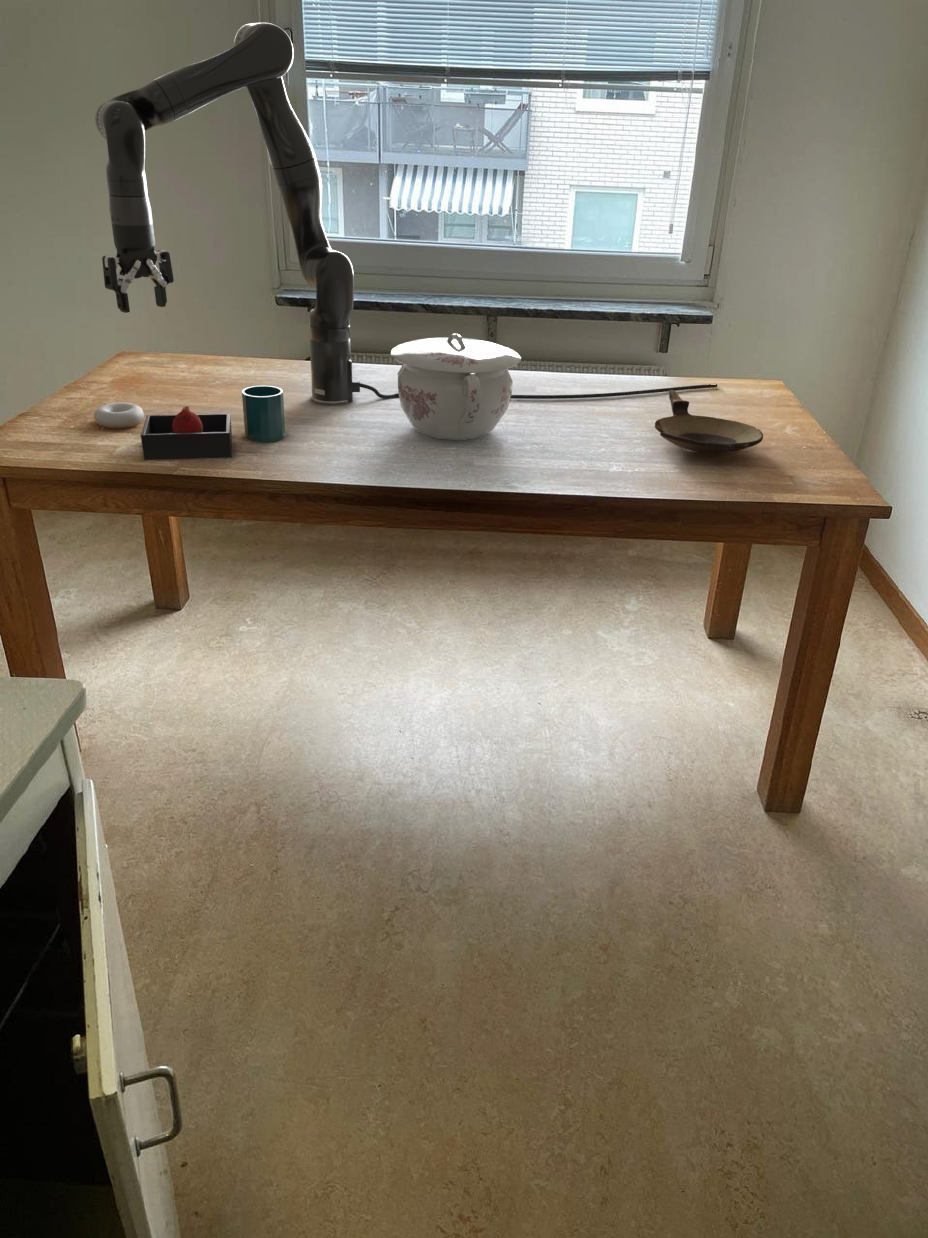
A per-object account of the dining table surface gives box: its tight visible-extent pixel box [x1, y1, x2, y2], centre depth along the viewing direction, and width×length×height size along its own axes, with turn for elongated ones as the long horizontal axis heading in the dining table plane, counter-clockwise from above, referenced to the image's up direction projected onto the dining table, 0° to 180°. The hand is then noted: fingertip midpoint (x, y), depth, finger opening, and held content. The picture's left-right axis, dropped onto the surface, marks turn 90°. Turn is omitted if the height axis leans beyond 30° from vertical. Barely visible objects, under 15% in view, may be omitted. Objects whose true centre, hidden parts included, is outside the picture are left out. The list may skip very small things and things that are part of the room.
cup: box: [241, 385, 286, 444], centre depth 185 cm, size 8×8×10 cm
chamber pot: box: [390, 332, 522, 441], centre depth 190 cm, size 28×28×21 cm
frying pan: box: [654, 390, 764, 454], centre depth 192 cm, size 22×30×8 cm
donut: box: [93, 402, 145, 429], centre depth 189 cm, size 10×3×10 cm
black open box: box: [140, 413, 233, 461], centre depth 178 cm, size 16×12×5 cm
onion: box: [172, 405, 203, 433], centre depth 177 cm, size 6×6×8 cm
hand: (143, 309), depth 179 cm, fingers open, 8 cm apart
